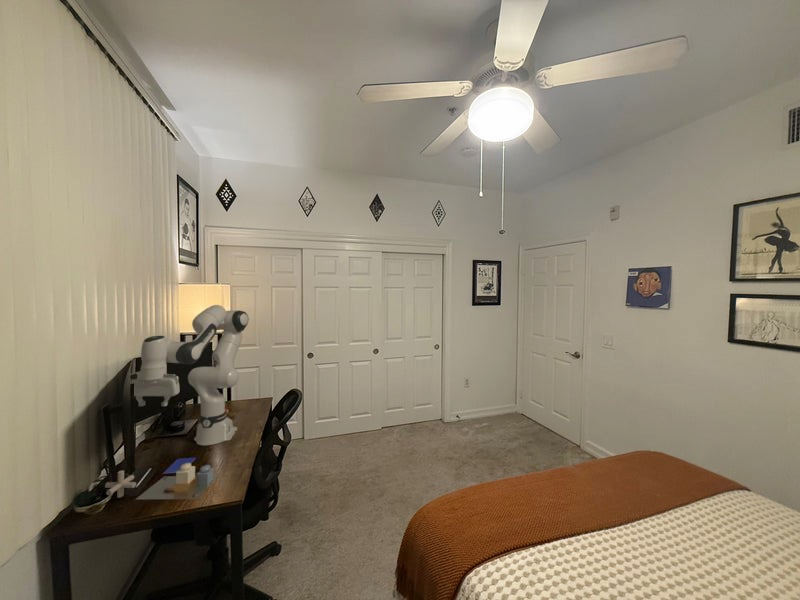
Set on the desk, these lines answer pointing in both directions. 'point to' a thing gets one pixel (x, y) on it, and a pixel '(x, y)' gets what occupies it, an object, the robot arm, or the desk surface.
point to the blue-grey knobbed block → (205, 475)
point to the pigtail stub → (183, 488)
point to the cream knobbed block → (185, 474)
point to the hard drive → (178, 465)
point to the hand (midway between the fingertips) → (153, 405)
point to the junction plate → (169, 482)
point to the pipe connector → (120, 484)
